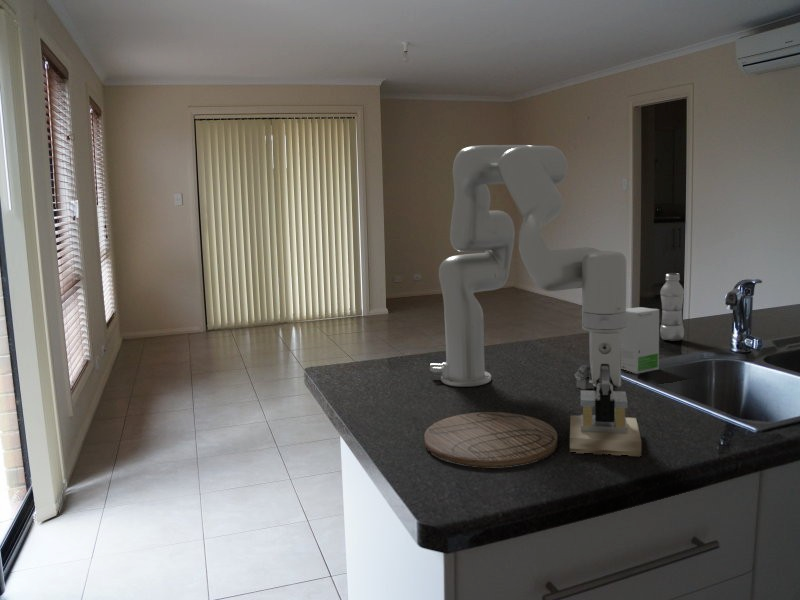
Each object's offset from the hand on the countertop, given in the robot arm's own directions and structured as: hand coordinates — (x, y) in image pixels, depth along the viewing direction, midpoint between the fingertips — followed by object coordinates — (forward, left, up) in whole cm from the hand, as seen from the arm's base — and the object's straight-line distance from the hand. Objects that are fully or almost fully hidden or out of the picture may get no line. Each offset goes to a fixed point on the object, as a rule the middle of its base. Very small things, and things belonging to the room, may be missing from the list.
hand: (603, 412), depth 121 cm
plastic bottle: (+22, +85, -6) cm, 88 cm away
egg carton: (-1, +38, -6) cm, 39 cm away
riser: (0, 0, -6) cm, 6 cm away
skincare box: (+10, +52, -6) cm, 53 cm away
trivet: (-21, -2, -6) cm, 22 cm away
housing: (0, 0, -3) cm, 3 cm away
